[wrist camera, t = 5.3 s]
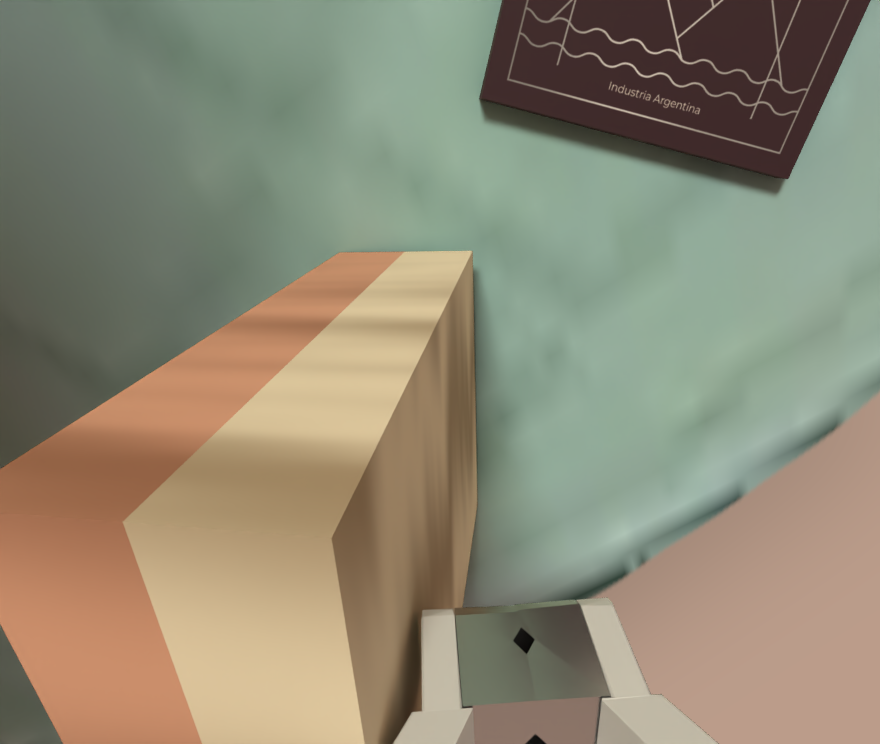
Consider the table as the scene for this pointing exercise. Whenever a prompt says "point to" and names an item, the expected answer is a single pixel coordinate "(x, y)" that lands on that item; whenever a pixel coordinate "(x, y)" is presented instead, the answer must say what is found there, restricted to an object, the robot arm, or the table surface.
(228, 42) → the table surface
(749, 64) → the chocolate bar
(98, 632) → the tan wooden block
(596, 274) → the table surface
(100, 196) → the table surface
